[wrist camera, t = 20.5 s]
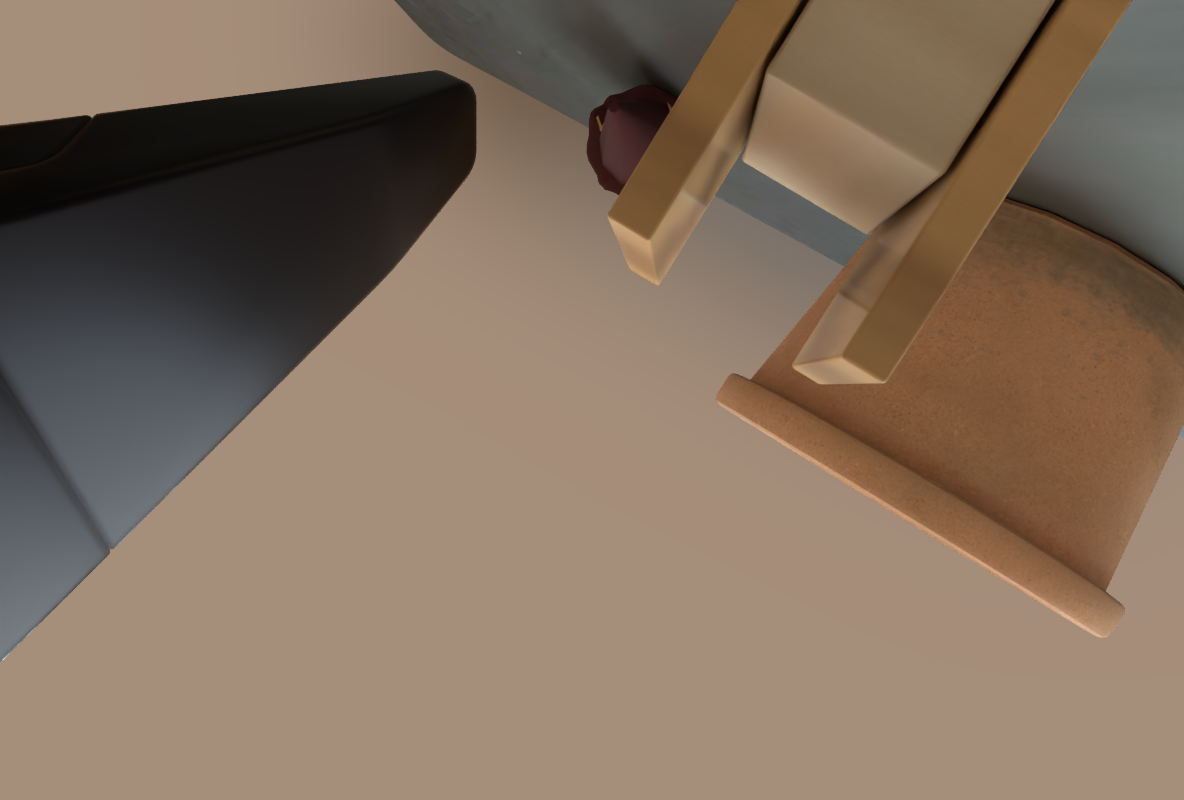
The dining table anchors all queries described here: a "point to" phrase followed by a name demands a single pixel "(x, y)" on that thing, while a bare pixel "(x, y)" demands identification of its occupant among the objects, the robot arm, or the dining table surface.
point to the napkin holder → (867, 142)
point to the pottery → (1007, 409)
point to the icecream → (625, 132)
